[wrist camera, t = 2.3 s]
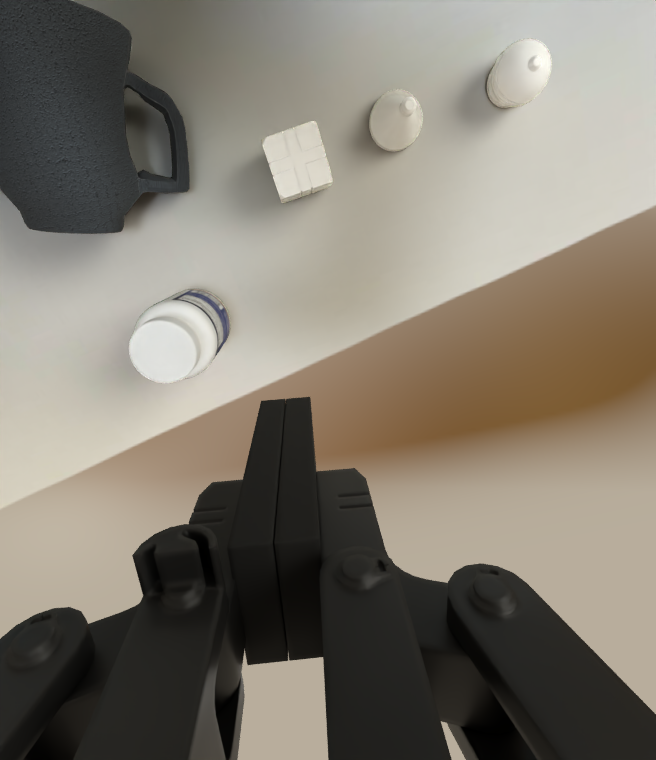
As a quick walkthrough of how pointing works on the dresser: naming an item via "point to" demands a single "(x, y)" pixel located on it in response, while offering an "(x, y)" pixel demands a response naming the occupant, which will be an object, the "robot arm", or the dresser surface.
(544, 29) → the dresser surface
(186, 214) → the dresser surface
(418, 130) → the decorative object set
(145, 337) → the pill bottle
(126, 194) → the mug
